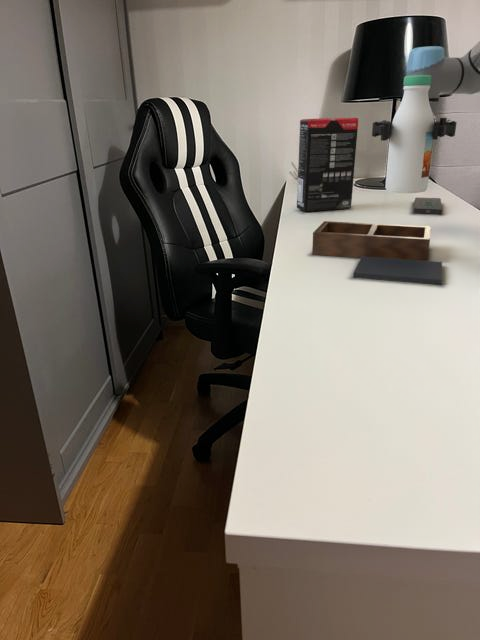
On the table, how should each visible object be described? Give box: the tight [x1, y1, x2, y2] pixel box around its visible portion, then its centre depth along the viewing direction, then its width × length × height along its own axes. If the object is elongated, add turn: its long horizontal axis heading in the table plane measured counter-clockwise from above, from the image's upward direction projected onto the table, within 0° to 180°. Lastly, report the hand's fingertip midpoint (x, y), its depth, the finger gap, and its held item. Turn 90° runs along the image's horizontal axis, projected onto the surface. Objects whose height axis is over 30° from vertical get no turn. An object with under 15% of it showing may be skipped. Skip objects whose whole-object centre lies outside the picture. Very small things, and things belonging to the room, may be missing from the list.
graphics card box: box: [296, 117, 359, 212], centre depth 155 cm, size 17×7×27 cm, turn 109°
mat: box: [352, 256, 443, 286], centre depth 99 cm, size 16×12×1 cm
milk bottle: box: [384, 75, 434, 194], centre depth 92 cm, size 8×8×20 cm
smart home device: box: [412, 196, 443, 215], centre depth 158 cm, size 8×2×20 cm
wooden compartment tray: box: [311, 220, 432, 261], centre depth 113 cm, size 24×12×5 cm, turn 70°
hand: (410, 131), depth 88 cm, fingers closed on milk bottle, 8 cm apart
